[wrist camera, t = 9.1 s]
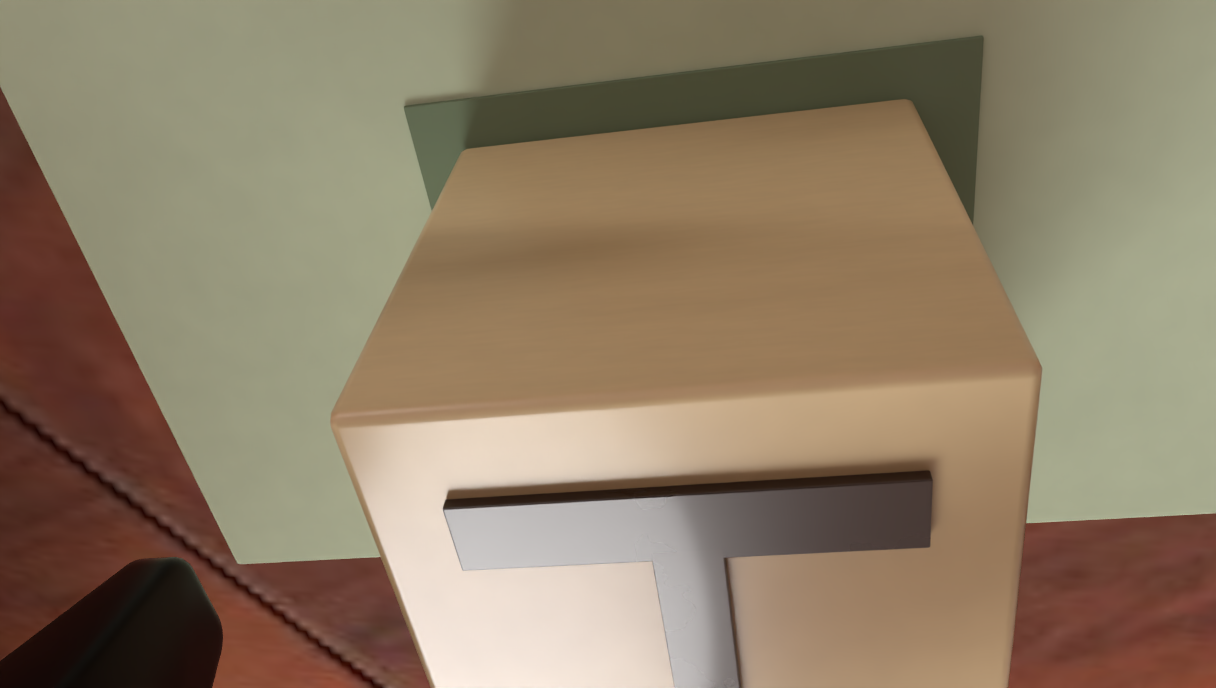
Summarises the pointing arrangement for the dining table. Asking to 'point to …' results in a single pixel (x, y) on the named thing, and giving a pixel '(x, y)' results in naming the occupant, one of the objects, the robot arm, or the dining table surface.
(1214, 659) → the dining table surface
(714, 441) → the letter h block
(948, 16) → the mat
